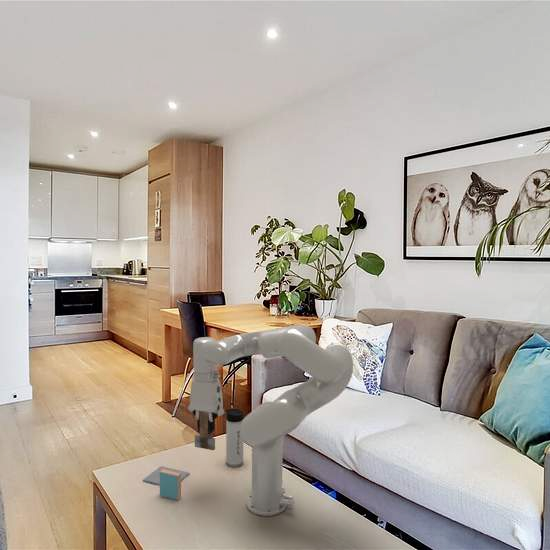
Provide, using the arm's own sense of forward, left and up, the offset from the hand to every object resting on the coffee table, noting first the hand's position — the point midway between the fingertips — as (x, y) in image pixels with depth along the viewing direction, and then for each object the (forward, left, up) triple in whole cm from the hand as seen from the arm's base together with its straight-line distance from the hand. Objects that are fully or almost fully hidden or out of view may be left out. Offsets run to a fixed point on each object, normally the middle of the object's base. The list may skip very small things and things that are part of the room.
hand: (206, 430), depth 139 cm
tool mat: (+16, -1, -20) cm, 26 cm away
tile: (+8, +8, -20) cm, 23 cm away
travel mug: (-1, -19, -20) cm, 28 cm away
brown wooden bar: (0, 0, -5) cm, 5 cm away
